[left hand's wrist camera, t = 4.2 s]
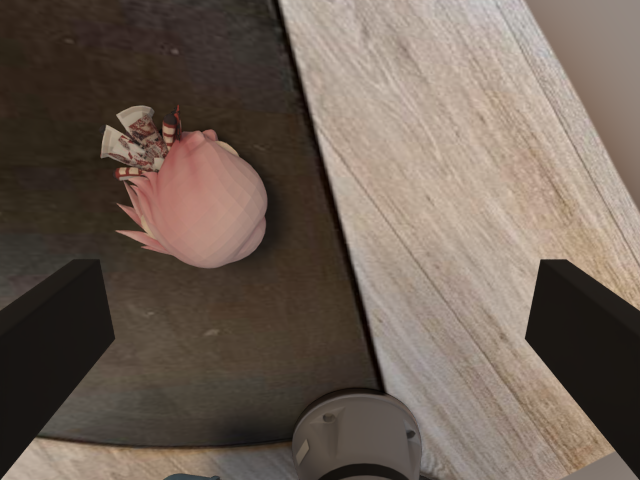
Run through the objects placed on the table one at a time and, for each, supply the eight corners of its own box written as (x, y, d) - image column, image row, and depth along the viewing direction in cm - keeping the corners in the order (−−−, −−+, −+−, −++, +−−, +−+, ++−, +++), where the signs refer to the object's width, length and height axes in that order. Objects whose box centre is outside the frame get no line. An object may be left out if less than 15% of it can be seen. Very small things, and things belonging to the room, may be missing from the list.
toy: (80, 188, 38) (205, 294, 41) (18, 182, 28) (192, 326, 30) (171, 95, 39) (288, 206, 42) (145, 55, 28) (303, 207, 31)
